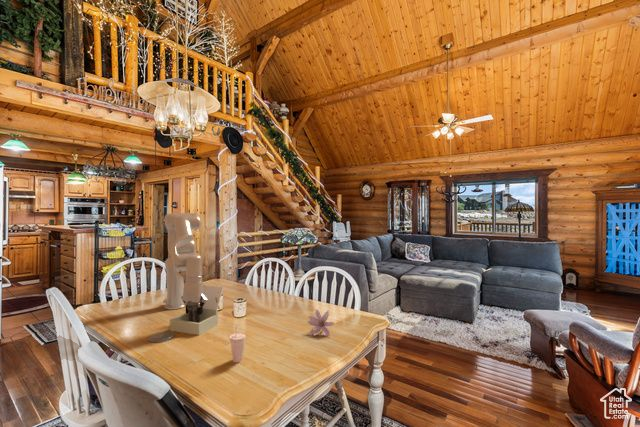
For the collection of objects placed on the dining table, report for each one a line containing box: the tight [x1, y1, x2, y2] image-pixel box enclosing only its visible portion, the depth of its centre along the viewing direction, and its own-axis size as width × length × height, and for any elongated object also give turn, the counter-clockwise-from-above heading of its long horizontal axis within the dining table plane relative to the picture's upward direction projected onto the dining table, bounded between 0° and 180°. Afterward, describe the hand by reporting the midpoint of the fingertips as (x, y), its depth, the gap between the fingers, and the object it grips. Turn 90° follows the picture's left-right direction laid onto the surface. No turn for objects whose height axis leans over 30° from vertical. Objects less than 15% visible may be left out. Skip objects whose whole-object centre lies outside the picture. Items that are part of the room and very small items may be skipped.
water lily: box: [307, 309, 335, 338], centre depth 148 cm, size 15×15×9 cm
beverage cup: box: [187, 301, 201, 323], centre depth 155 cm, size 7×7×20 cm
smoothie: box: [229, 324, 247, 363], centre depth 120 cm, size 6×6×14 cm
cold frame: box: [169, 284, 224, 336], centre depth 156 cm, size 18×19×19 cm
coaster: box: [148, 331, 175, 344], centre depth 142 cm, size 11×11×1 cm
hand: (194, 313), depth 155 cm, fingers closed on beverage cup, 6 cm apart
